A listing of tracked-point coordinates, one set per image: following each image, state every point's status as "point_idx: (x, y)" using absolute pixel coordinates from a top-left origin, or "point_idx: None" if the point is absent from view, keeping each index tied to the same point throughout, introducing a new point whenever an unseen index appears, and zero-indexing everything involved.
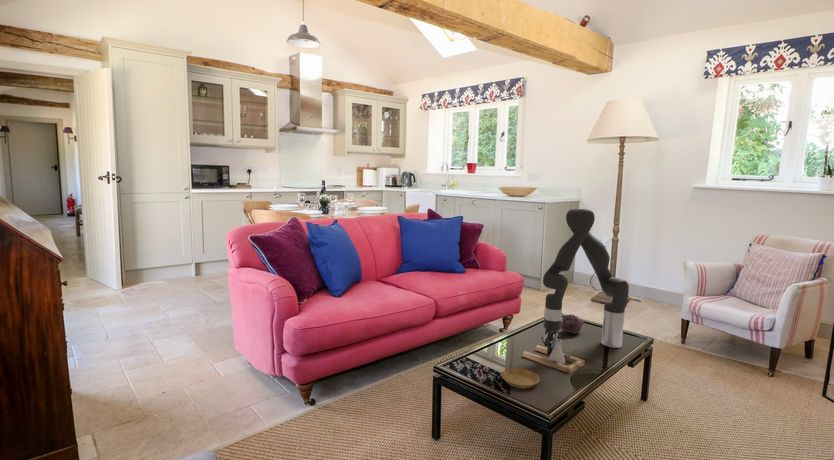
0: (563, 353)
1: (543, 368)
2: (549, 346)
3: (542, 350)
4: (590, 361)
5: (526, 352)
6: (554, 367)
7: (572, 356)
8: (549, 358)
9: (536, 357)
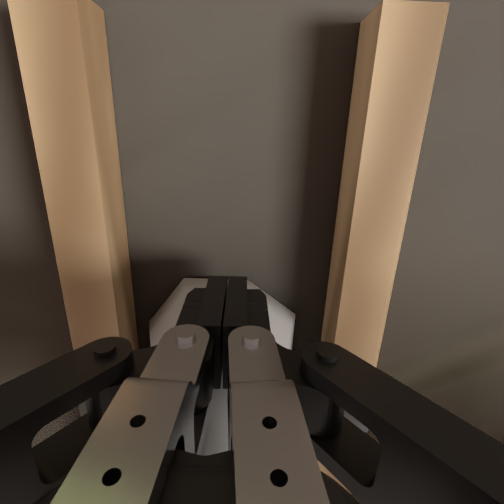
0: (375, 362)
1: (9, 329)
2: (87, 435)
3: (354, 127)
4: None
5: (43, 38)
6: None
7: None
8: (171, 313)
9: (54, 218)
